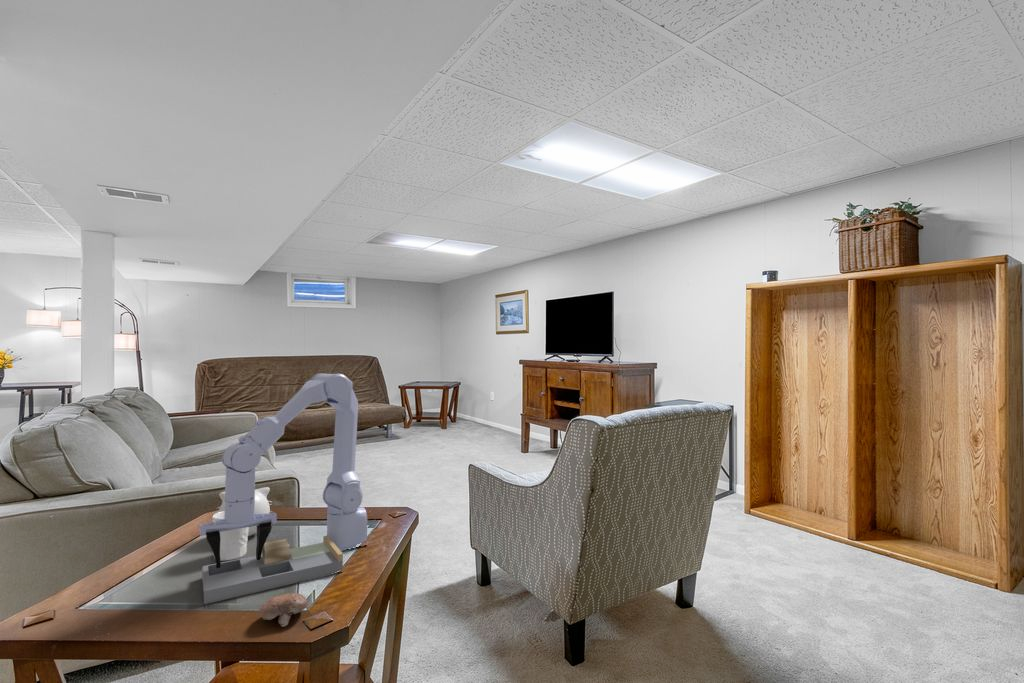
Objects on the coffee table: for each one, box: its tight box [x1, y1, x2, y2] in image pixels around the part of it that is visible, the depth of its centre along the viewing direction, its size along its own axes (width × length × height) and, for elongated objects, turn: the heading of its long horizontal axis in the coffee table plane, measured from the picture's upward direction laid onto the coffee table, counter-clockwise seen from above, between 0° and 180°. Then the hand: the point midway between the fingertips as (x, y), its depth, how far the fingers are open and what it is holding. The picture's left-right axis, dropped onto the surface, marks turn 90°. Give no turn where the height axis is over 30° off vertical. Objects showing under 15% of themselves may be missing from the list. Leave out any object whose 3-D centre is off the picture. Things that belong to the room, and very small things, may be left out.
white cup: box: [211, 511, 249, 562], centre depth 118 cm, size 8×8×10 cm
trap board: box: [201, 534, 344, 605], centre depth 107 cm, size 26×14×4 cm, turn 124°
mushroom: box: [259, 592, 308, 627], centre depth 88 cm, size 8×6×8 cm
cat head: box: [216, 486, 273, 537], centre depth 131 cm, size 15×13×12 cm
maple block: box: [261, 538, 291, 564], centre depth 110 cm, size 5×5×3 cm
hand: (238, 562), depth 106 cm, fingers open, 7 cm apart
